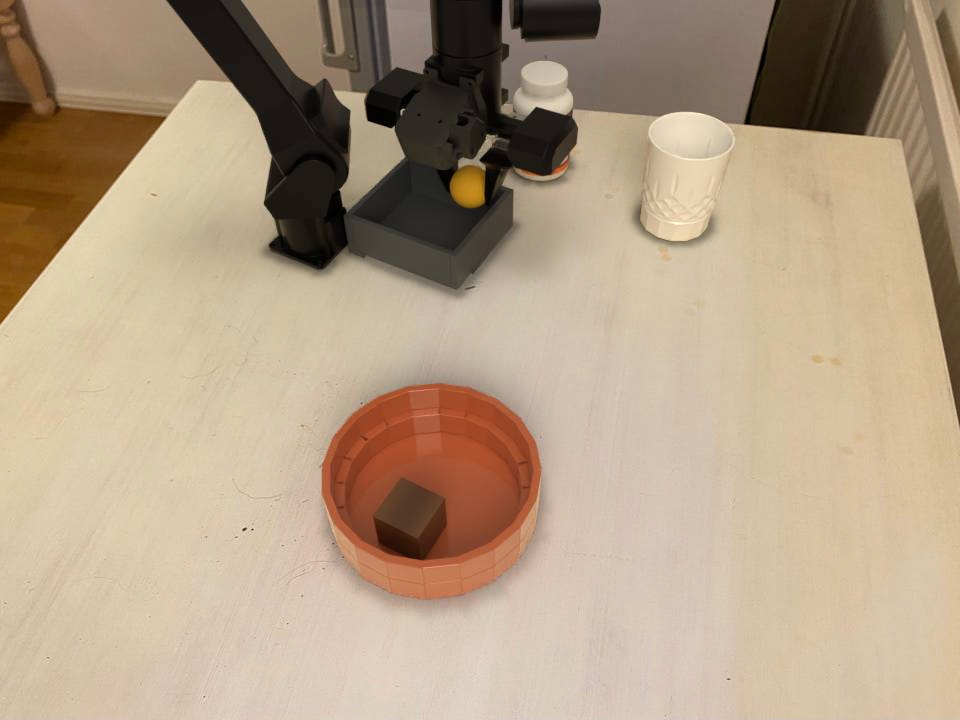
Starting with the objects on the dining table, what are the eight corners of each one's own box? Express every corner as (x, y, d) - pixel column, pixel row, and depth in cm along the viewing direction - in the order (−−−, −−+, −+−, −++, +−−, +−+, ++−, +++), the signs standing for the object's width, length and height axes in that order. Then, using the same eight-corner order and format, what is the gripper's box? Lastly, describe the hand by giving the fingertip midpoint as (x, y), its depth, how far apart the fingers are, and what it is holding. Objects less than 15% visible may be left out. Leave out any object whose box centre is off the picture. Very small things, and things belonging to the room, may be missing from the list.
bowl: (289, 541, 58) (276, 504, 55) (403, 397, 67) (398, 356, 63) (474, 641, 53) (473, 608, 50) (571, 471, 62) (576, 432, 58)
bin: (349, 252, 79) (342, 215, 76) (410, 190, 86) (407, 154, 82) (457, 293, 75) (455, 256, 72) (512, 225, 82) (513, 189, 78)
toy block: (378, 542, 58) (372, 516, 55) (405, 503, 60) (401, 476, 57) (421, 564, 57) (417, 538, 54) (447, 524, 59) (445, 497, 56)
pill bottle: (580, 166, 88) (589, 72, 80) (541, 190, 86) (547, 95, 77) (538, 143, 91) (543, 50, 83) (499, 166, 88) (500, 72, 80)
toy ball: (442, 209, 78) (441, 174, 75) (463, 186, 80) (462, 152, 77) (479, 221, 76) (479, 186, 73) (499, 198, 79) (499, 163, 76)
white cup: (712, 250, 79) (735, 164, 71) (630, 240, 80) (645, 154, 73) (713, 201, 84) (735, 115, 77) (636, 192, 85) (650, 107, 78)
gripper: (314, 58, 64) (341, 214, 76) (524, 119, 58) (518, 279, 70) (391, 1, 71) (405, 154, 82) (587, 51, 65) (572, 208, 76)
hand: (470, 197), depth 78 cm, fingers closed on toy ball, 4 cm apart
